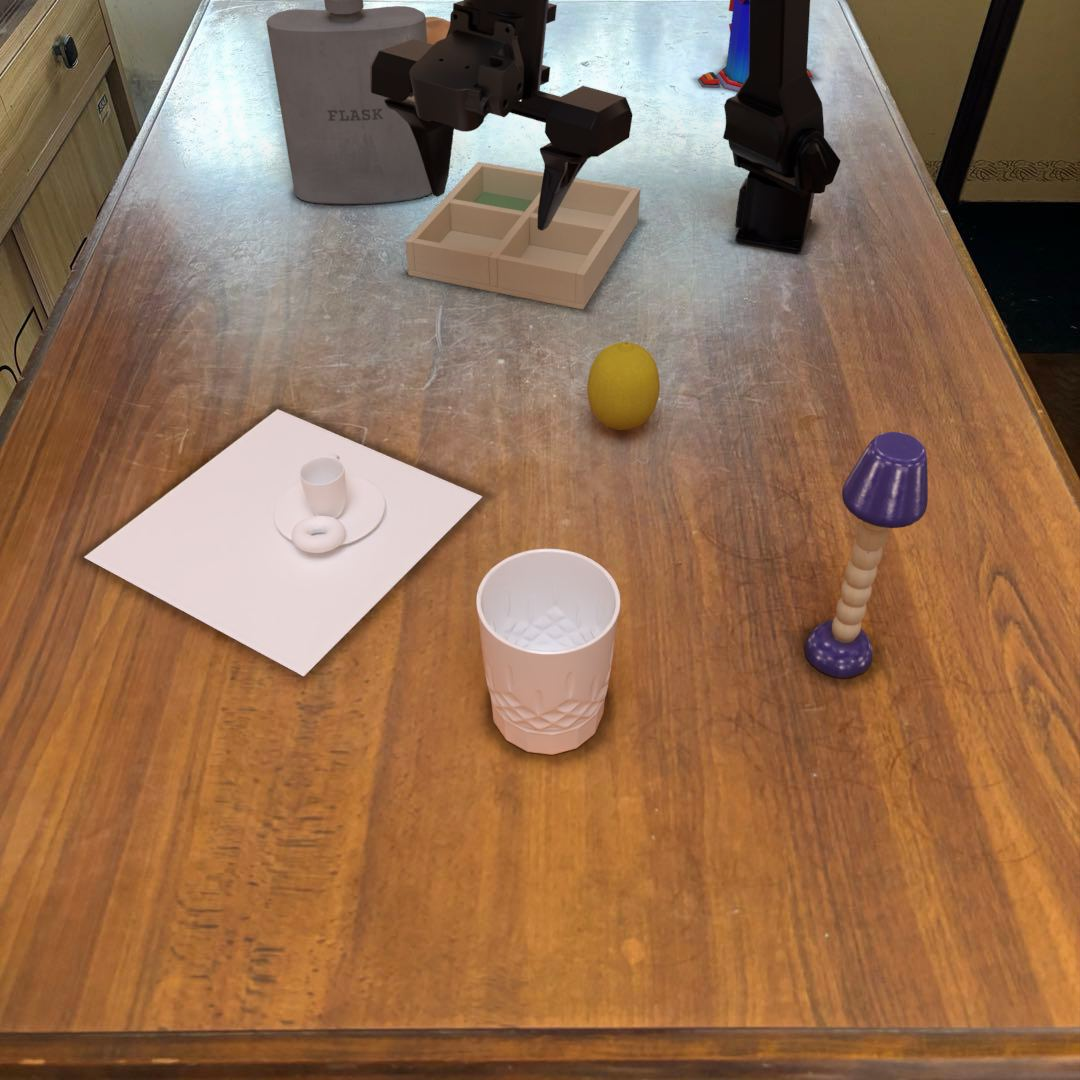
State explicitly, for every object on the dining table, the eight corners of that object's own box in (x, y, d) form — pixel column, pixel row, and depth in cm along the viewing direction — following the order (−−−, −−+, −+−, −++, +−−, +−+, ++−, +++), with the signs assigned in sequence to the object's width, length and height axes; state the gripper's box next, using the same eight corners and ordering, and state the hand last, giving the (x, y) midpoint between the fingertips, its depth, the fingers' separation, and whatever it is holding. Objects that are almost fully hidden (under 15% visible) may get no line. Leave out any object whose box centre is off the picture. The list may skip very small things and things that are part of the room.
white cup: (480, 664, 70) (473, 552, 63) (603, 656, 70) (610, 543, 63) (486, 769, 64) (479, 658, 57) (620, 759, 65) (630, 648, 58)
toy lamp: (798, 621, 72) (847, 419, 61) (870, 623, 72) (932, 420, 61) (809, 678, 69) (863, 475, 57) (884, 680, 69) (953, 477, 57)
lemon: (651, 454, 85) (658, 368, 79) (580, 445, 86) (582, 360, 80) (660, 411, 89) (667, 326, 83) (592, 403, 90) (595, 319, 84)
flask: (292, 208, 113) (257, 2, 100) (296, 182, 118) (263, -19, 104) (438, 202, 114) (423, -3, 100) (436, 176, 119) (423, -24, 105)
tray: (638, 222, 111) (640, 188, 109) (583, 310, 100) (584, 274, 97) (479, 194, 116) (477, 161, 113) (408, 275, 104) (405, 240, 101)
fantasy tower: (691, 83, 137) (701, -20, 128) (735, 54, 144) (747, -46, 135) (777, 106, 132) (793, -1, 123) (819, 74, 139) (837, -29, 130)
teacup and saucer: (330, 574, 76) (322, 531, 73) (243, 532, 79) (232, 489, 76) (407, 502, 81) (402, 459, 78) (323, 464, 84) (316, 422, 81)
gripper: (319, -24, 71) (324, 209, 81) (575, 43, 65) (547, 285, 75) (416, -47, 79) (409, 167, 89) (651, 10, 73) (617, 233, 83)
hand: (489, 211), depth 84 cm, fingers open, 9 cm apart
